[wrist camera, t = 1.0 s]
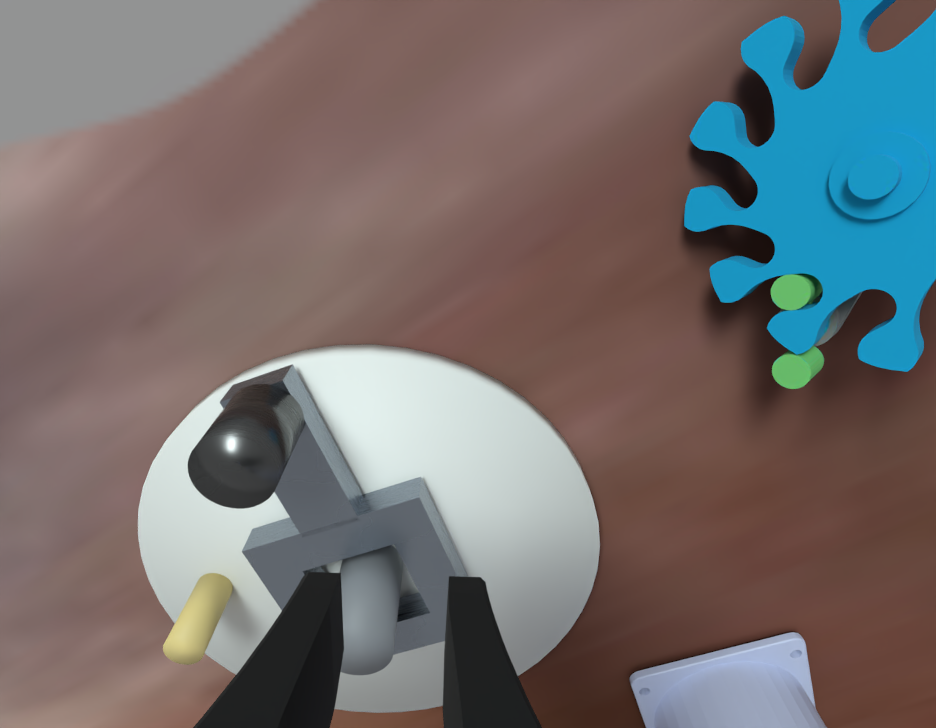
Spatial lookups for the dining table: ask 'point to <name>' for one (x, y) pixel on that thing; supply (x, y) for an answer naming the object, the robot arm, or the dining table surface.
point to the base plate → (382, 570)
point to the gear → (833, 189)
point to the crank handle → (319, 501)
